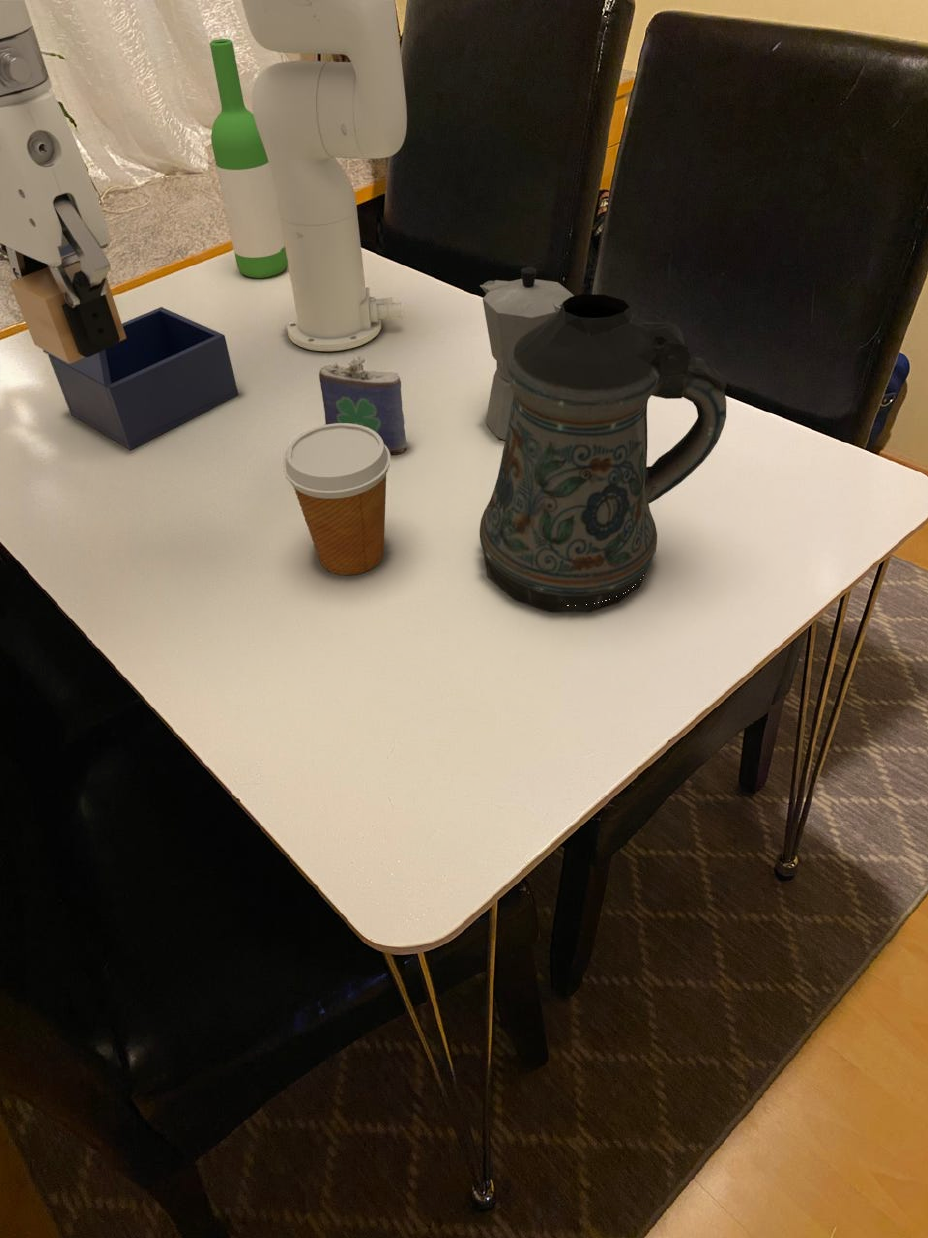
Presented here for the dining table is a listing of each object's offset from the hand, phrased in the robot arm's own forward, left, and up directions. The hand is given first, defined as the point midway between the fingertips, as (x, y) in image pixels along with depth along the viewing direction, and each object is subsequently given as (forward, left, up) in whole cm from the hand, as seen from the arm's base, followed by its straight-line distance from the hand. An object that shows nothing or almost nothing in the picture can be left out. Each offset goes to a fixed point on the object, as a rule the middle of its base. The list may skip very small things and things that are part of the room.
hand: (78, 335), depth 69 cm
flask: (-19, -21, -25) cm, 37 cm away
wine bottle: (-2, -72, -25) cm, 76 cm away
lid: (+11, -28, -8) cm, 32 cm away
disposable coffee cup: (-18, -2, -25) cm, 30 cm away
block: (0, 0, -1) cm, 1 cm away
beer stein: (-40, 0, -25) cm, 47 cm away
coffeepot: (-38, -23, -25) cm, 51 cm away
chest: (+7, -33, -24) cm, 41 cm away
